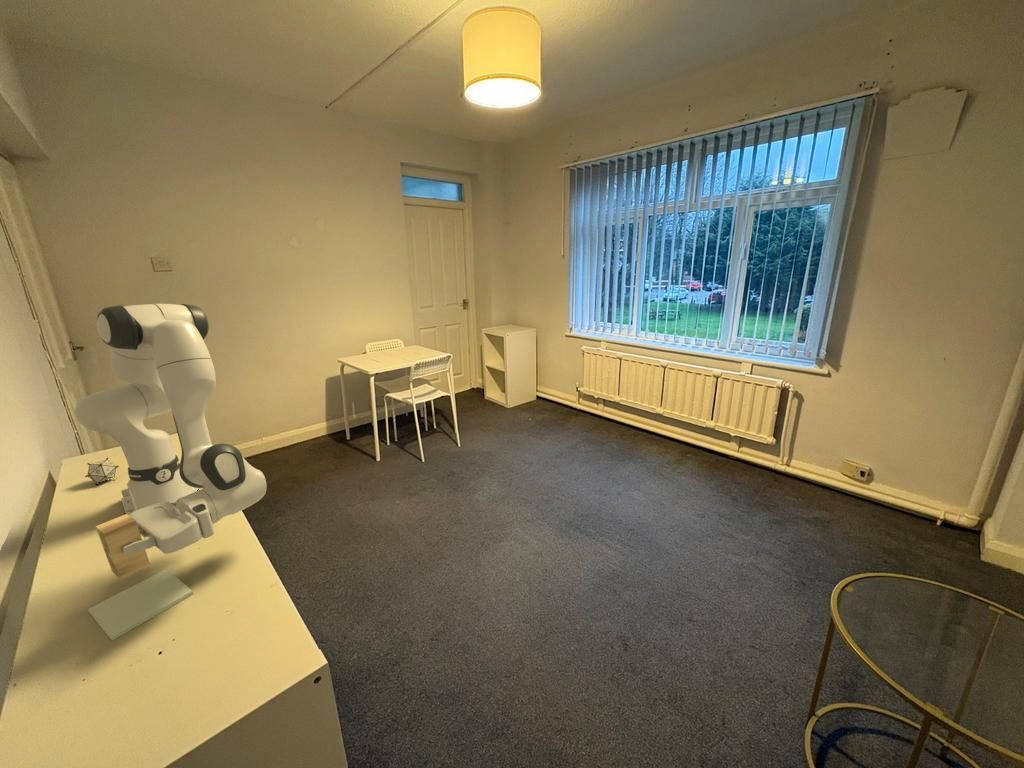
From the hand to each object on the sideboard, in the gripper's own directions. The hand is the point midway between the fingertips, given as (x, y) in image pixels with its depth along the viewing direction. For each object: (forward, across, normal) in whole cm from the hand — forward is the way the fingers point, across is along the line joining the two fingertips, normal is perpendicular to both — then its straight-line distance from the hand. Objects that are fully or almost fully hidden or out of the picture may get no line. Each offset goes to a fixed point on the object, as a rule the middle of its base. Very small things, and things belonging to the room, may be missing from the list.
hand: (117, 546), depth 86 cm
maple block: (-1, 0, +6) cm, 6 cm away
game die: (-16, -82, +15) cm, 85 cm away
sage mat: (-1, 0, +15) cm, 15 cm away
